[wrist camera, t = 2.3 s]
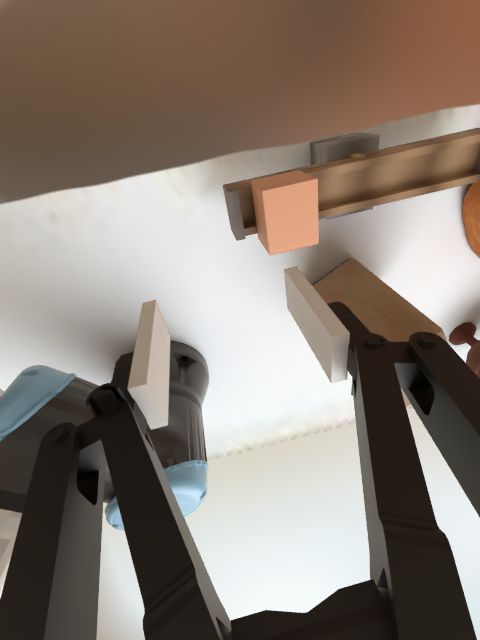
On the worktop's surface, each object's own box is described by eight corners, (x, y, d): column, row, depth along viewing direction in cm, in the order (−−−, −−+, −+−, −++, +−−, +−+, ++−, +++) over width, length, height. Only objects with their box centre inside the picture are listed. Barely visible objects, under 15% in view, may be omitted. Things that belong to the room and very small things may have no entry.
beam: (227, 228, 41) (239, 253, 33) (214, 164, 36) (224, 176, 29) (434, 180, 42) (489, 194, 35) (448, 112, 37) (514, 111, 30)
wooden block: (298, 292, 49) (359, 381, 32) (352, 254, 46) (447, 328, 30) (325, 328, 54) (389, 420, 38) (374, 295, 52) (465, 378, 35)
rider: (256, 234, 34) (269, 255, 29) (248, 178, 31) (262, 191, 26) (297, 225, 34) (318, 243, 29) (294, 168, 31) (317, 178, 26)
